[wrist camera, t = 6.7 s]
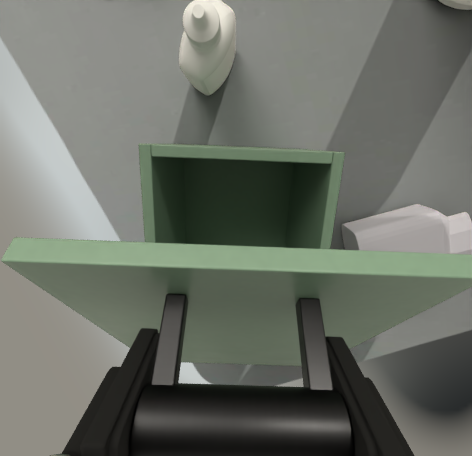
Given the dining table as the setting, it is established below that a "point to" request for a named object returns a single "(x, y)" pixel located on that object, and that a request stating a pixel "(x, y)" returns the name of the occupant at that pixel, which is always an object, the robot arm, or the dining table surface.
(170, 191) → the bin
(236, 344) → the bin lid
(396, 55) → the dining table surface
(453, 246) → the charger
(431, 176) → the dining table surface
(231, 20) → the eye dropper bottle
